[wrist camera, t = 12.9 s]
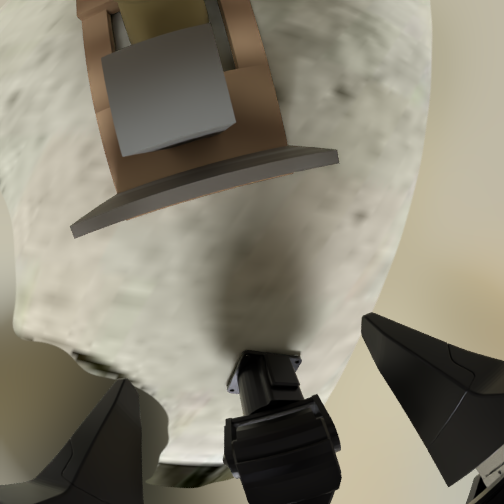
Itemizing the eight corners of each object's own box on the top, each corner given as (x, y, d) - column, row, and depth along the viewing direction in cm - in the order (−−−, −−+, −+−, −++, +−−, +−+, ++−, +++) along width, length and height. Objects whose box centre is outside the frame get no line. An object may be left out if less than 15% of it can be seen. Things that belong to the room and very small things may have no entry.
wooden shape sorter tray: (288, 171, 19) (375, 208, 9) (130, 216, 19) (63, 295, 8) (233, -33, 12) (259, -122, 1) (86, 9, 11) (21, -52, 1)
